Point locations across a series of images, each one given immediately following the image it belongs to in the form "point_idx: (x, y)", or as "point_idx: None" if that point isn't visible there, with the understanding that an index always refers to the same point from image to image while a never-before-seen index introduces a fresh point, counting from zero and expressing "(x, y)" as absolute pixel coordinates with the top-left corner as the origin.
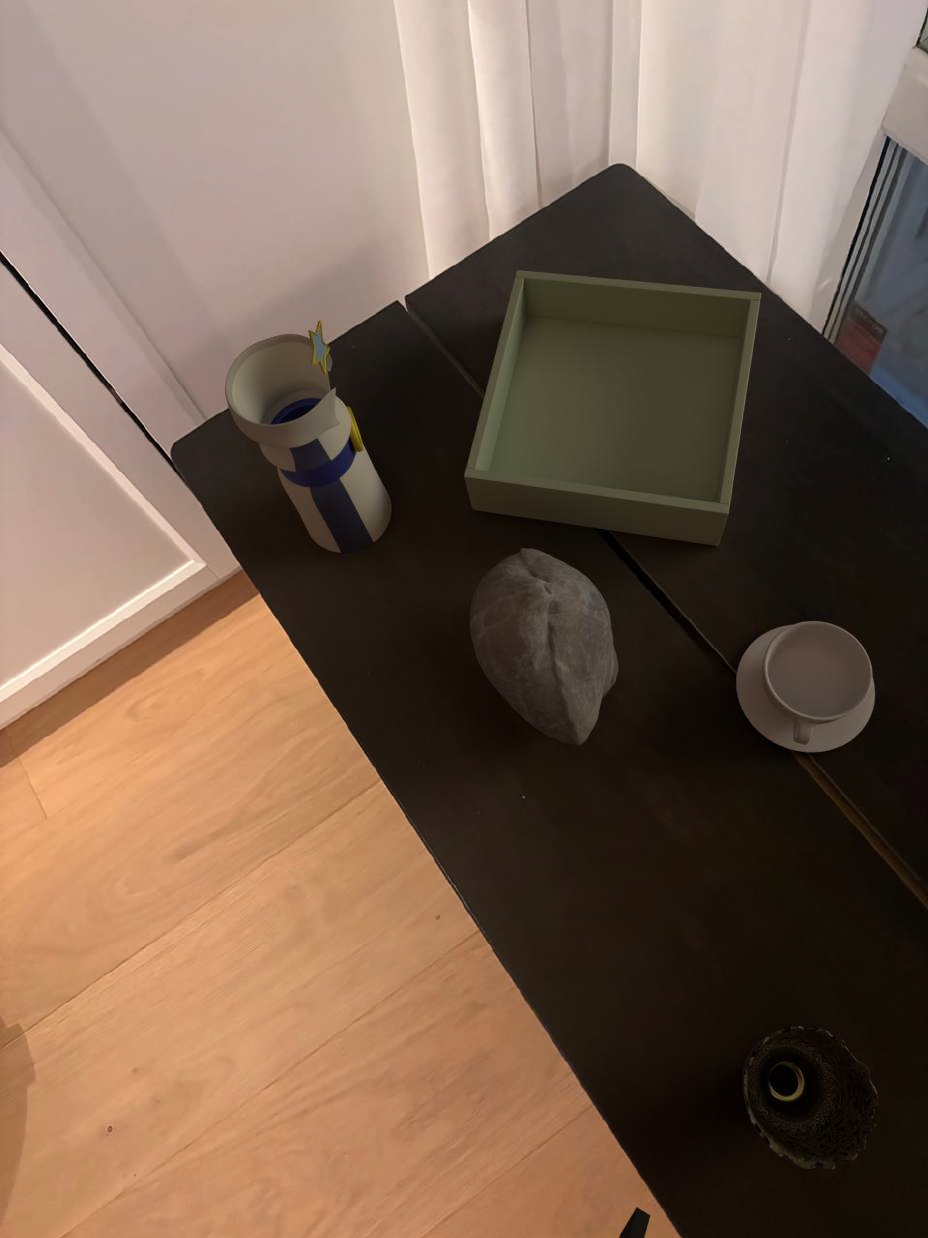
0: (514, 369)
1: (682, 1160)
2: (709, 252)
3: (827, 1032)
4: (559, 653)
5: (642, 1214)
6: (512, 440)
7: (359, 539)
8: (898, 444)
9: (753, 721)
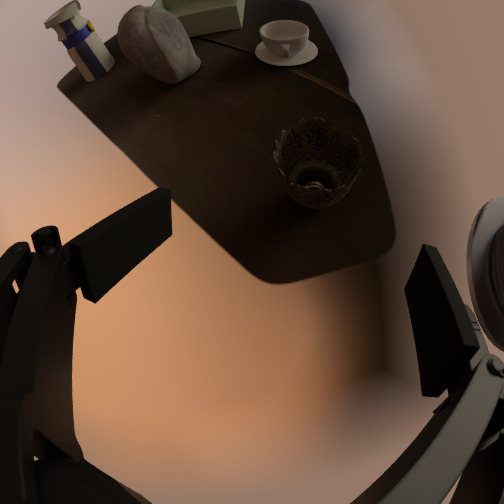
0: None
1: (259, 252)
2: None
3: (320, 118)
4: (150, 24)
5: (162, 189)
6: None
7: (100, 70)
8: (303, 4)
9: (265, 61)
